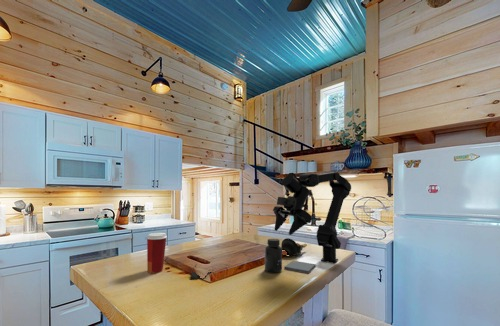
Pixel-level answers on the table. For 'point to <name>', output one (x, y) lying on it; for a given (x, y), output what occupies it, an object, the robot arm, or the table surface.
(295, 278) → the table surface
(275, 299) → the table surface
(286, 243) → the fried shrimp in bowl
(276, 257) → the supplement bottle
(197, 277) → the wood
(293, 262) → the mat
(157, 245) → the paper cup
